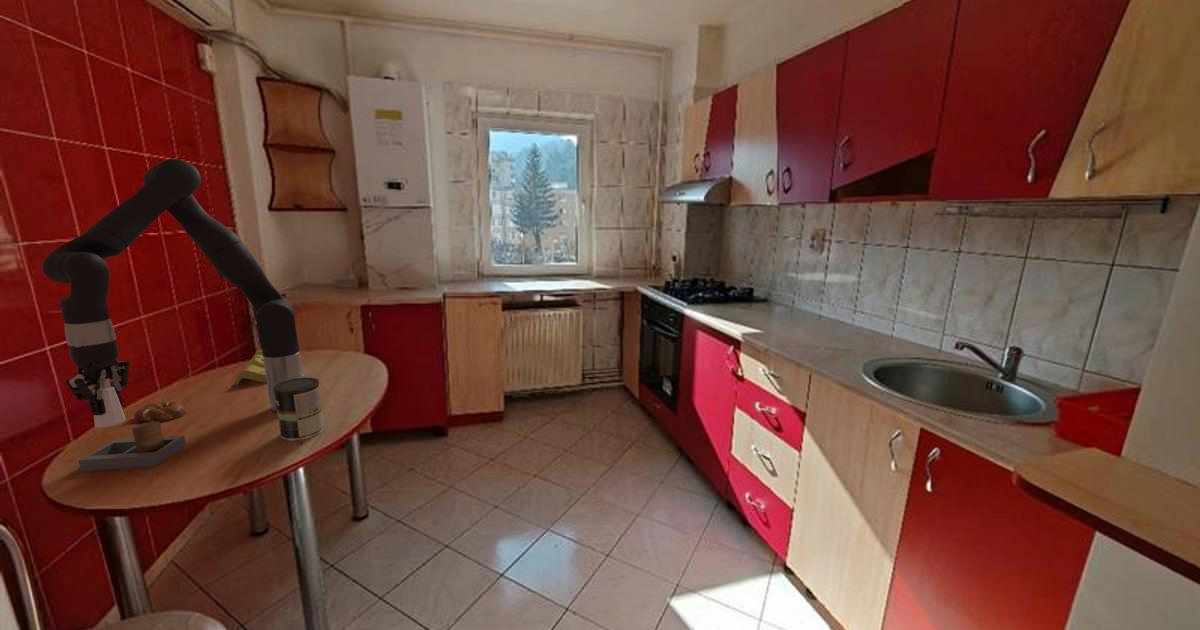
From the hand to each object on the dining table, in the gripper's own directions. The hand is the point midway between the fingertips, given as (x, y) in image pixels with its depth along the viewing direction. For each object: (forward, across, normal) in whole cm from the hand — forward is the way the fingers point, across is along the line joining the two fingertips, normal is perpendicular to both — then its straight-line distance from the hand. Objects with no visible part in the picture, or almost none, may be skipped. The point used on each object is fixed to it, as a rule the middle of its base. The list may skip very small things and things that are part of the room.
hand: (107, 410), depth 109 cm
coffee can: (+13, -11, +36) cm, 40 cm away
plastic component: (+14, -60, +1) cm, 61 cm away
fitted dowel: (+12, 0, +8) cm, 14 cm away
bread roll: (+14, -26, -9) cm, 31 cm away
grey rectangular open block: (+13, 0, +4) cm, 14 cm away
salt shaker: (+3, 0, 0) cm, 3 cm away
